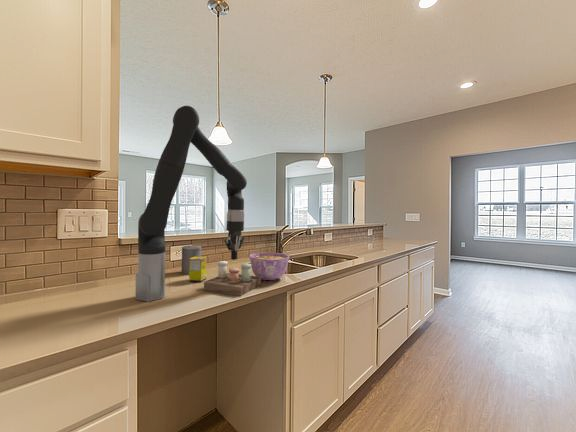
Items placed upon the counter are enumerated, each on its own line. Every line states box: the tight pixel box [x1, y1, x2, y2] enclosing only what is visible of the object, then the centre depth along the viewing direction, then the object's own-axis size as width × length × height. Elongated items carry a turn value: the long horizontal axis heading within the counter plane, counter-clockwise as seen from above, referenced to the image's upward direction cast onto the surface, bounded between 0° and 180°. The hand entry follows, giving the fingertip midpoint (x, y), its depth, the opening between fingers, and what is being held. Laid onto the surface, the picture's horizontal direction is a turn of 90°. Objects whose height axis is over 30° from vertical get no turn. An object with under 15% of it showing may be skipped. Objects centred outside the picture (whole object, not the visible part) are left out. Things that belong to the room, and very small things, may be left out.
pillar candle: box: [181, 244, 202, 275], centre depth 145 cm, size 10×10×15 cm
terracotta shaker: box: [228, 267, 240, 281], centre depth 121 cm, size 4×4×7 cm
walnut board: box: [203, 272, 262, 297], centre depth 121 cm, size 18×18×4 cm
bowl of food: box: [249, 252, 290, 281], centre depth 137 cm, size 20×20×12 cm
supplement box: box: [188, 256, 207, 283], centre depth 130 cm, size 6×6×11 cm
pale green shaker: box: [240, 263, 252, 282], centre depth 119 cm, size 4×4×7 cm
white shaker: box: [217, 260, 229, 279], centre depth 123 cm, size 4×4×7 cm
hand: (234, 259), depth 120 cm, fingers closed
